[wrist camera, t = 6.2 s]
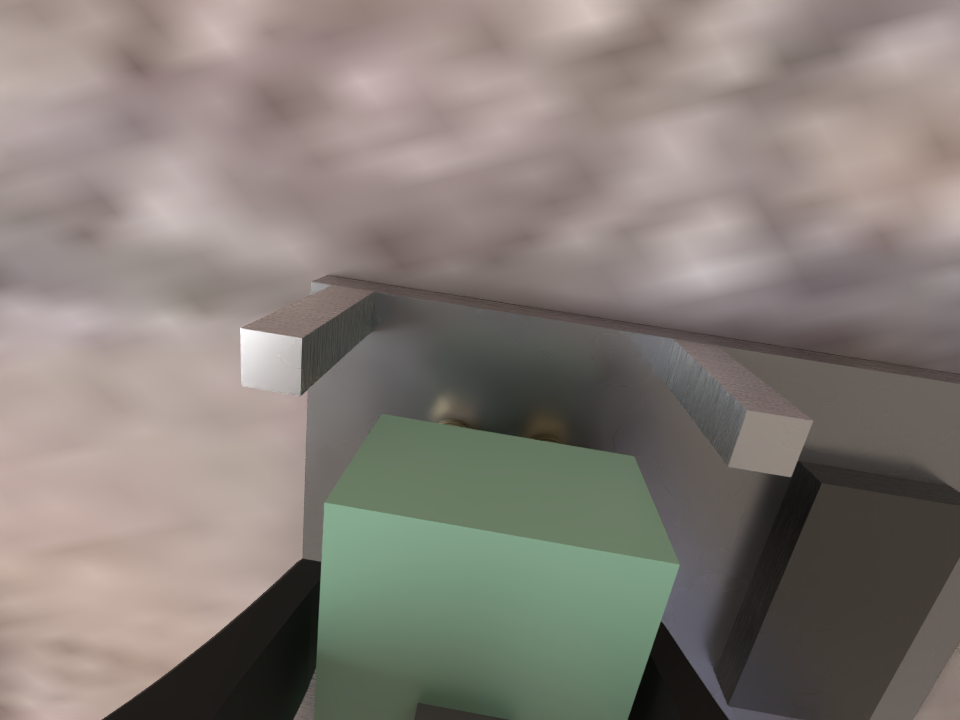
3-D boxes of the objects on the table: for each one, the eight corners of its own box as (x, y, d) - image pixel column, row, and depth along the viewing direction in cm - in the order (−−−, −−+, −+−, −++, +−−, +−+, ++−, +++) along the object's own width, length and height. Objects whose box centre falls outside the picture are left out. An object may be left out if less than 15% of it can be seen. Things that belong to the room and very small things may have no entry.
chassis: (1054, 389, 12) (1399, 515, 7) (862, 734, 16) (1005, 962, 11) (327, 275, 13) (210, 323, 8) (312, 634, 17) (227, 810, 12)
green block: (633, 456, 10) (688, 585, 6) (555, 740, 12) (567, 933, 9) (381, 413, 10) (312, 520, 7) (356, 703, 12) (297, 880, 9)
